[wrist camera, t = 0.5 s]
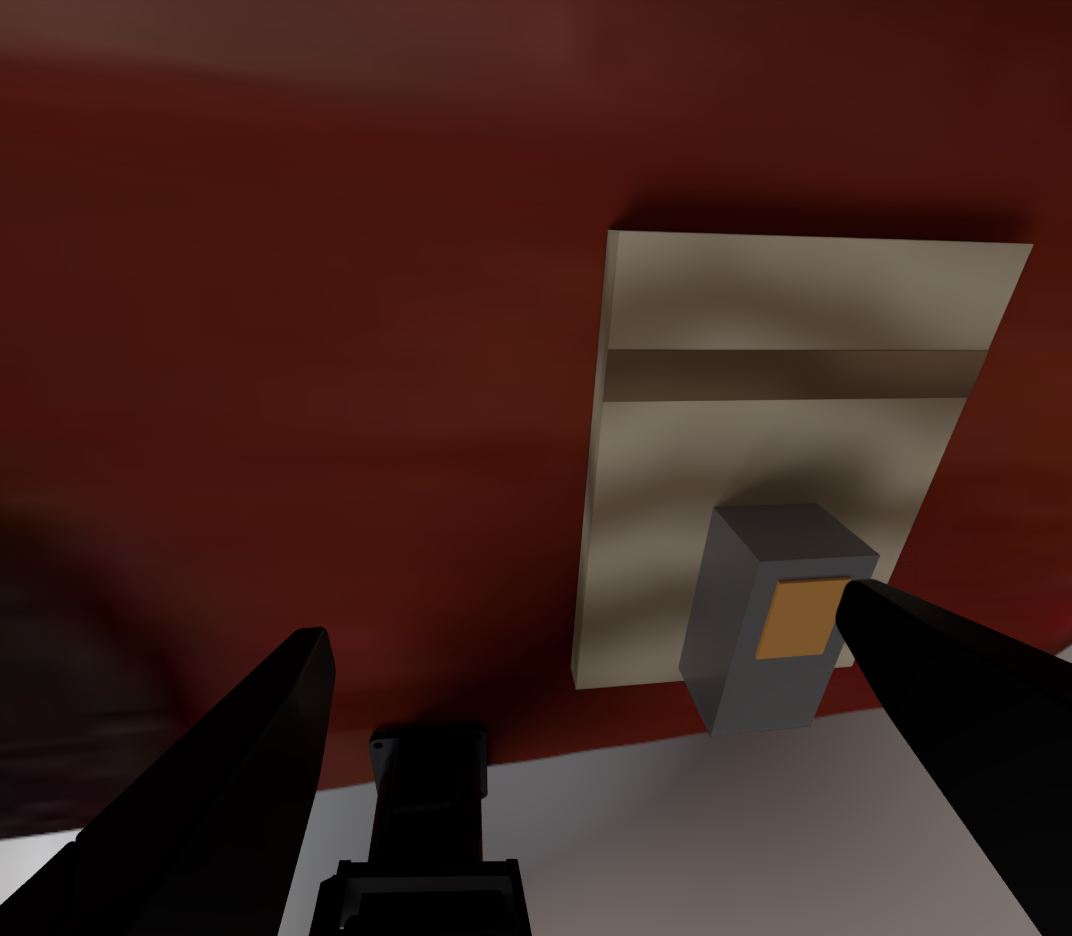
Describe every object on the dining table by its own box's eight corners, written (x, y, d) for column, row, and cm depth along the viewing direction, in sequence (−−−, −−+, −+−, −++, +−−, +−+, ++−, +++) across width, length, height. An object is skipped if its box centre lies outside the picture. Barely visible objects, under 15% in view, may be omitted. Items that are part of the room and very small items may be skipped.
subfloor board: (834, 646, 30) (852, 666, 29) (570, 666, 28) (576, 690, 27) (996, 242, 20) (1034, 244, 19) (608, 230, 18) (620, 231, 17)
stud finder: (765, 660, 28) (811, 729, 24) (678, 667, 27) (711, 739, 23) (816, 503, 23) (883, 557, 19) (713, 506, 22) (761, 564, 19)
